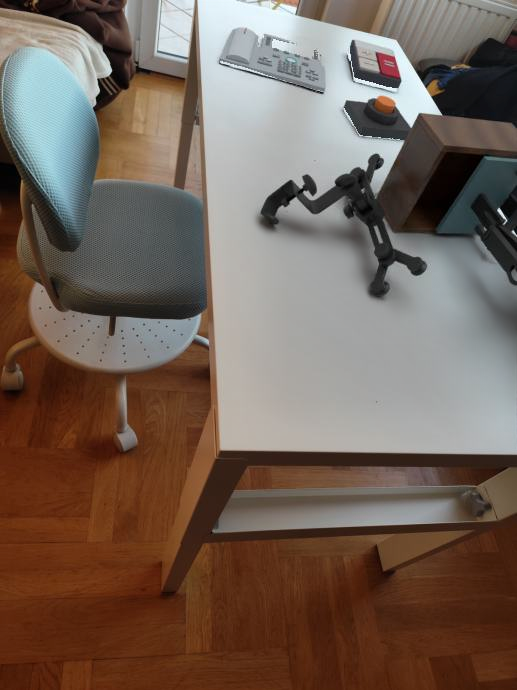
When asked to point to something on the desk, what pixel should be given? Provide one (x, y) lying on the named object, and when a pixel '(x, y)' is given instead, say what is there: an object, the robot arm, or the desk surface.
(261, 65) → the office telephone
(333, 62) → the desk surface
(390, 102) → the light button
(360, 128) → the switch block
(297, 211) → the desk surface
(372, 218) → the tablet mount
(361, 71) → the button panel
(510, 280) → the robot arm
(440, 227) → the sliding door
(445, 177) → the closet
